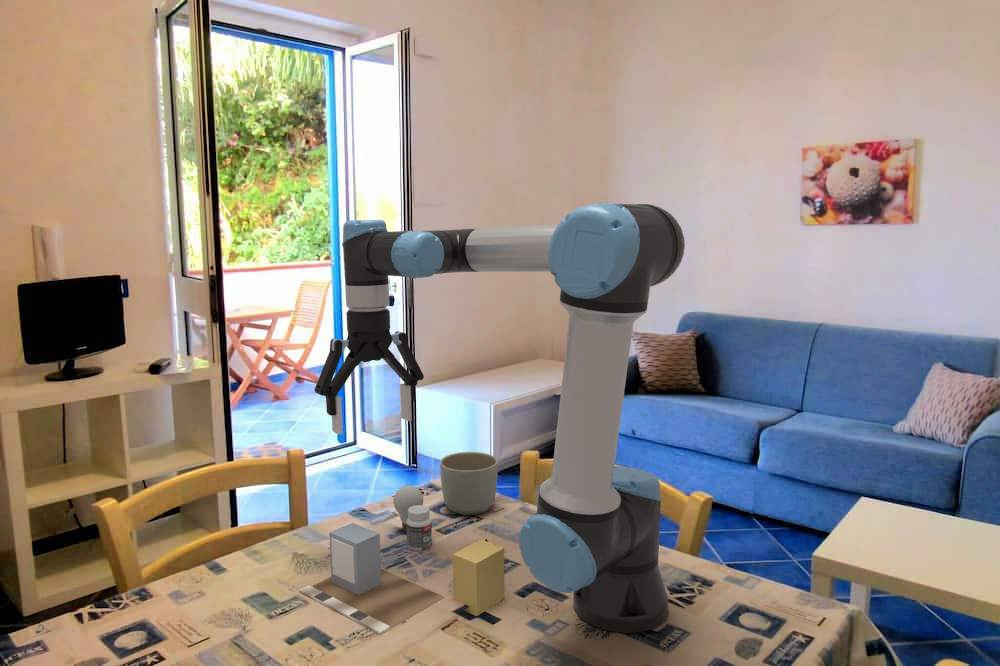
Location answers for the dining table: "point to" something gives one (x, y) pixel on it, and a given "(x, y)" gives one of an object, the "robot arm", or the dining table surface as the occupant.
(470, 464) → the planter
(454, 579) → the tea box
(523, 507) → the dining table surface
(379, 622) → the shelf board
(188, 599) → the dining table surface
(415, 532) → the pill bottle
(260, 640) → the dining table surface
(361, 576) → the slate box
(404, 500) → the light bulb
